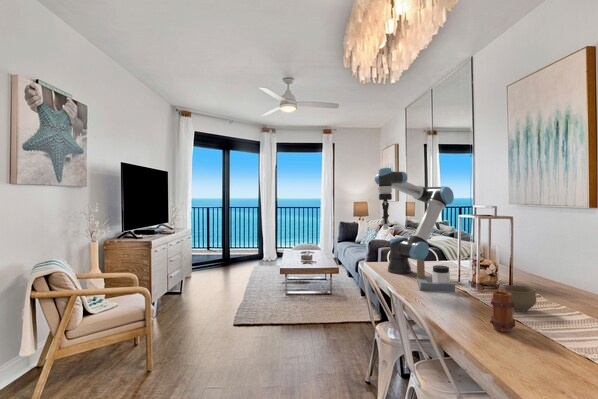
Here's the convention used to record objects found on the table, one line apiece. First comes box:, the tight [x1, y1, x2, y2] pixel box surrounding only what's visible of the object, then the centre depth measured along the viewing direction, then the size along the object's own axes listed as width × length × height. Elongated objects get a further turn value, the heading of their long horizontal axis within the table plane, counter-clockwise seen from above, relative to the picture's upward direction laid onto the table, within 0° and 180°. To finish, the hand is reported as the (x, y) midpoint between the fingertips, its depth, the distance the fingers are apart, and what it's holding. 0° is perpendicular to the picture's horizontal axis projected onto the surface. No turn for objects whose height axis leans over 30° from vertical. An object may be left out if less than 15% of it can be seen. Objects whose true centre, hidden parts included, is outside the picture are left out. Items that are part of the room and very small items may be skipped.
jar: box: [431, 264, 451, 284], centre depth 182 cm, size 9×8×12 cm
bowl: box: [504, 284, 537, 312], centre depth 147 cm, size 13×13×10 cm
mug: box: [489, 285, 516, 333], centre depth 128 cm, size 15×8×15 cm, turn 148°
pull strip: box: [415, 258, 456, 293], centre depth 189 cm, size 26×18×12 cm
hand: (385, 228), depth 202 cm, fingers open, 13 cm apart
